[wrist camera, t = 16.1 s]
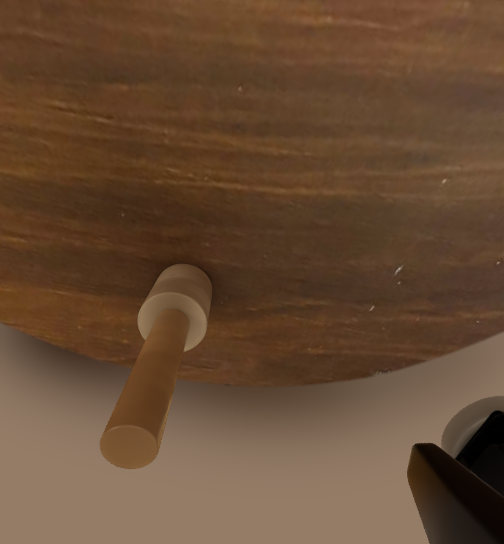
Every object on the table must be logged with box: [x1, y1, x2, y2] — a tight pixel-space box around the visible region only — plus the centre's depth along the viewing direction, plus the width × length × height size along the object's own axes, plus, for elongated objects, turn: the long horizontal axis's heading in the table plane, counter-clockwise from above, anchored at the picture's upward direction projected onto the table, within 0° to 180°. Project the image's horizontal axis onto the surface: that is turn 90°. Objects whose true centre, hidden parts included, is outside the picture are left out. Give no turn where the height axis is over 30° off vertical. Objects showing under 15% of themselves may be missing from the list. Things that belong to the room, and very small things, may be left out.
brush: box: [100, 264, 212, 469], centre depth 15 cm, size 3×3×11 cm
